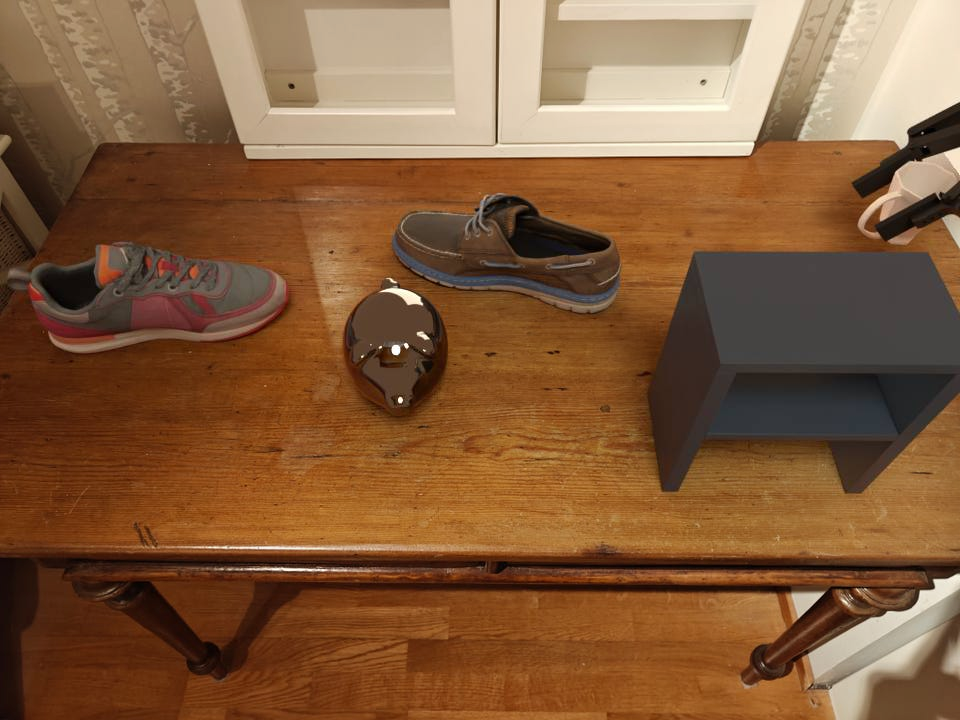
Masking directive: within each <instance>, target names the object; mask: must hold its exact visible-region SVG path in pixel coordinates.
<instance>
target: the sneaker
mask: <svg viewBox="0 0 960 720" xmlns="http://www.w3.org/2000/svg"><path fill="white" fill-rule="evenodd" d="M94 249H95V250H94V251H95V256H94V257H92V258H90V259H88V260H86V261H83V262H79V263H76V264H70V265H65V266H62V265H58V264H55V263H52V262H43V263H40V264H38V265H36V266H35V267H33V268H32V271H29V270H26V269H22V268H19V267H10V268H9V269H8V273H7V277H6V283H5V284H6V285H7V286H8V288H10V289H11V290H14V291H16V292H27V291H28V295H29V297H30V300H31V304H32V308H33V310H34V312H35V315H36V317H37V319H38V321H39V323H40V324H41V325H42V327H44V328H45V330H47V333H48V337H49V339H50V341H51V343H52V344H53V345H54V346H55V347H57V348H58V349H61V350H63V351H66V352H68V353H71V354H79V355H81V354H82V355H86V354H96V353H102V352H107V351H112V350H115V349H121V348H124V347H125V348H126V347H129V346H133V345H136V344H140V343H144V342H149V341H153V340H162V339H163V340H165V339H175V340H176V339H177V340H183V341H190V342H197V343H215V342H224V341H230V340H233V339H237V338H238V339H239V338H241V337H244V336H246V335H250V334H252V333H254V332H256V331H258V330H260V329H261V328H262V327H264V326H265V325H267V324H269V323H270V322H271V321H273V320H274V319H275V318H276V317H277V316H278V315H279V314H280V313H281V312H282V311H283V309H284V307H285V306H286V304H287V303H288V301H289V299H290V285H289V282H288V281H286V280H285V279H284V278H283V277H281V276H280V275H279V274H277V272H275V271H273V270H270V269H268V268H266V267H262V266H259V265H254V264H245V263H237V262H233V261H229V260H212V259H199V258H196V259H191V258H189V257H186V256H184V255H182V254H175V253H171V251H170V250H167V249H165V250H163V249H160V248H154V247H151V245H147V246H143V245H141V244H138V242H137V241H134V240H131V241H116V242H115V241H113V242H112V243H111V244H109V245H108V244H102V243H101V244H96V245H95V248H94Z"/></svg>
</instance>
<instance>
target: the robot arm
mask: <svg viewBox="0 0 960 720" xmlns="http://www.w3.org/2000/svg"><path fill="white" fill-rule="evenodd" d="M906 134H907V138H908V139H907V140H908V141H907V144H906V145H905V146H903V147H902V148H901V149H899V150H898V151H896V152H894V153H892V154H891V155H888V156H887V157H885V158H884V159H882V160H881V161H880V162H879V163H878V164H879V166H877V167H875V168H873V169H872V170H870V171H868V172H866V173H865V174H863V175H862V176H859V177H858V178H856V179H855V180H853V181H851V186H852V187H853V189H854V190H855V191H856V193H857V194H858V196H859V197H860V198H861V200H863V199H865V198H867V197H869V196H871V195H872V194H873V193H876V192H878V191H879V190H881V189H883V188H885V187H886V186H888V185H891V182H892V180H893V177H894V175H895V172H896V171H897V170H898V169H899V168H901V167H902V166H903V165H905V164H906V163H907V162H909V161H917V162H924V161H923V160H924V159H927V158H931V157H934V156H937V155H940V154H943V153H947V152H949V151H954V150H957V149H958V148H960V101H958V102H956V103H954V104H952V105H951V106H948V107H946V108H945V109H943V110H940V111H939V112H937V113H935V114H934V115H931V116H929V117H927V118H925V119H924V120H922V121H920V122H918V123H915V124H913V125H912V126H910V127H908V129H907V130H906ZM939 198H940V199H941V200H940V199H939ZM939 198H938V196H937V195H936V193H933V194H931V195H929V196H927V197H925V198H923V199H922V200H920V201H918V202H916V203H914V204H912V205H910V206H909V207H907V208H905V209H903V210H901V211H899V212H897V213H896V214H894V215H892V216H890V217H888V218H886V219H884V220H883V221H881V222H880V221H879V222H877V223H875V224H873V228H874V229H875V231H876V232H878V233H879V235H880V236H881V237H882V238H881V239H882V240H883V241H884V243H886V242H888V240H890V239H892V238H894V237H896V236H898V235H900V234H902V233H904V232H906V231H907V230H909V229H911V228H913V227H915V226H916V227H917V229H919V228H923V227H925V226H926V227H927V226H929V225H931V224H933V223H935V222H937V221H939V220H941V219H943V218H945V217H946V216H949V215H953V216H956V217H958V218H960V180H958V182H957V183H956V184H955V185H954V186H953V187H952V188H951V189H949V190H948V191H947V192H946V193H943V192H941V191H940V193H939ZM926 227H925V228H926ZM923 229H924V228H923Z"/></svg>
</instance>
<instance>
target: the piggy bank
mask: <svg viewBox="0 0 960 720" xmlns="http://www.w3.org/2000/svg"><path fill="white" fill-rule="evenodd" d="M447 333H448V332H447V329H446V326H445V323H444V320H443V317H442V316H441V314H440V312H439V311H438V309H437V308H436V307H435V305H434V304H433V303H432V302H431V300H429V299H428V298H426V296H424V295H423V294H420V293H419V292H418V291H415V290H413V289H409V288H406V287H401V283H400V282H398V281H396V280H394V279H393V278H392V277H385V278H384V279H382V280H381V283H380V286H379V289H376V290H373V291H371V292H369V293H368V294H366V295H365V296H364V297H362V298H361V299H360V300H359V301H358V302H357V303H356V304H355V305H354V307H353V308H352V309H351V311H350V312H349V314H348V316H347V318H346V320H345V324H344V326H343V331H342V339H341V340H342V341H341V349H342V357H343V358H342V359H343V362H344V366H345V369H346V373H347V374H348V377H349V379H350V380H351V382H352V383H353V385H354V387H355V388H356V389H357V391H359V393H360V394H362V395H363V397H365V398H366V399H368V400H369V401H370V402H372V403H374V404H376V405H378V406H380V407H382V408H384V409H385V410H387V411H388V413H389V414H390V415H392V416H396V417H397V416H405V415H409V414H410V413H412V412H413V410H414V408H415V407H416V406H418V405H419V404H420V403H421V402H423V401H424V400H426V399H428V398H429V397H431V395H432V393H433V392H434V391H435V389H436V388H437V387H438V385H439V383H440V382H441V380H442V378H443V376H444V373H445V372H446V368H447V365H448V364H447V363H448V359H449V358H448V356H449V338H448V334H447Z"/></svg>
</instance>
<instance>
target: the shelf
mask: <svg viewBox="0 0 960 720" xmlns="http://www.w3.org/2000/svg"><path fill="white" fill-rule="evenodd" d="M691 256H692V257H691V259H690V262H689V265H688V269H687V272H686V275H685V277H684V280H683V283H682V287H681V290H680V292H679V296H678V299H677V301H676V304H675V309H674V311H673V313H672V317H671V320H670V323H669V325H668V326H669V327H668V329H667V332H666V335H665V338H664V342H663V344H662V347H661V350H660V353H659V355H658V356H659V357H658V359H657V362H656V366H655V368H654V372H653V374H652V377H651V380H650V384H649V387H648V389H647V393H646V396H647V402H648V408H649V414H650V421H651V428H652V434H653V441H654V446H655V453H656V459H657V461H656V462H657V464H658V465H657V466H658V472H659V473H658V474H659V479H660V485H661V492H662V493H665V492H666V493H678V492H679V491H680V489H681V487H682V484H683V482H684V481H685V478H686V477H687V475H688V472H689V470H690V469H691V466H692V464H693V463H694V460H695V458H696V457H697V454H698V451H699V450H700V448H701V446H702V444H703V443H704V440H707V441H708V440H714V441H715V440H717V441H719V440H720V441H721V440H724V441H725V440H728V441H729V440H730V441H734V440H735V441H828V443H829V446H830V450H831V453H832V456H833V459H834V462H835V465H836V468H837V471H838V474H839V478H840V480H841V483H842V487H843V490H844V493H845V494H862V493H863V492H865V491H866V489H867V488H868V487H869V486H870V485H871V484H872V483H873V482H874V481H875V480H876V479H877V478H878V477H879V476H880V475H881V474H882V473H883V472H884V471H885V470H886V469H887V468H888V467H889V466H890V465H891V464H892V463H893V462H894V461H895V459H897V458H898V457H899V456H900V454H902V453H903V451H904V450H905V449H906V448H908V447H909V445H910V444H912V442H913V441H914V440H915V439H916V438H917V437H918V436H919V435H921V433H922V432H923V431H924V430H926V428H927V427H928V426H929V425H930V424H931V423H932V422H933V421H934V420H935V419H936V418H937V417H938V415H940V414H941V412H943V410H944V409H945V408H946V407H947V406H948V405H950V403H951V402H952V401H953V400H954V399H955V398H956V397H957V396H958V395H959V394H960V311H959V309H958V307H957V305H956V304H955V301H954V299H953V297H952V295H951V293H950V291H949V290H948V287H947V285H946V284H945V282H944V280H943V278H942V276H941V274H940V272H939V270H938V268H937V266H936V264H935V262H934V260H933V259H932V256H931V255H930V253H929V252H928V251H757V250H756V251H755V250H754V251H751V250H750V251H746V250H745V251H742V250H740V251H737V250H736V251H734V250H733V251H732V250H731V251H728V250H727V251H725V250H723V251H722V250H721V251H719V250H716V251H715V250H714V251H713V250H694V251H693V253H692V255H691Z"/></svg>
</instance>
